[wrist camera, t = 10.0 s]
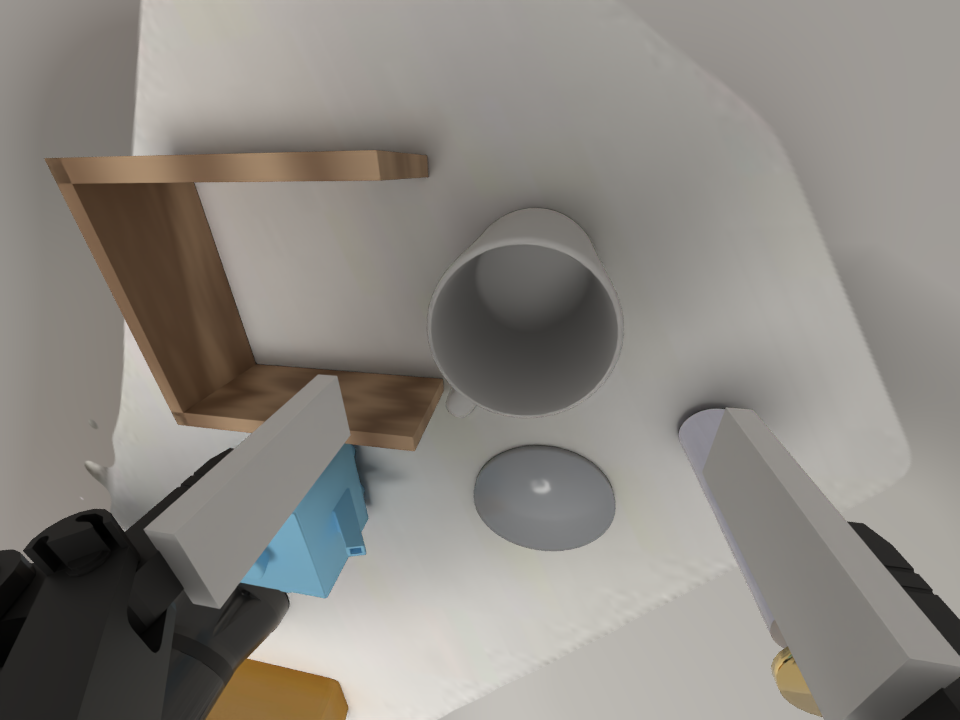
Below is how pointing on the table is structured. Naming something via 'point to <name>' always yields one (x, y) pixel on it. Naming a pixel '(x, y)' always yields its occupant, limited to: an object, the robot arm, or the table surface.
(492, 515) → the grey saucer
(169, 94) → the table surface
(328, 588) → the teapot
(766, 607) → the perfume bottle
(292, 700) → the bread
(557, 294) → the mug
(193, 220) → the three-sided wooden frame
